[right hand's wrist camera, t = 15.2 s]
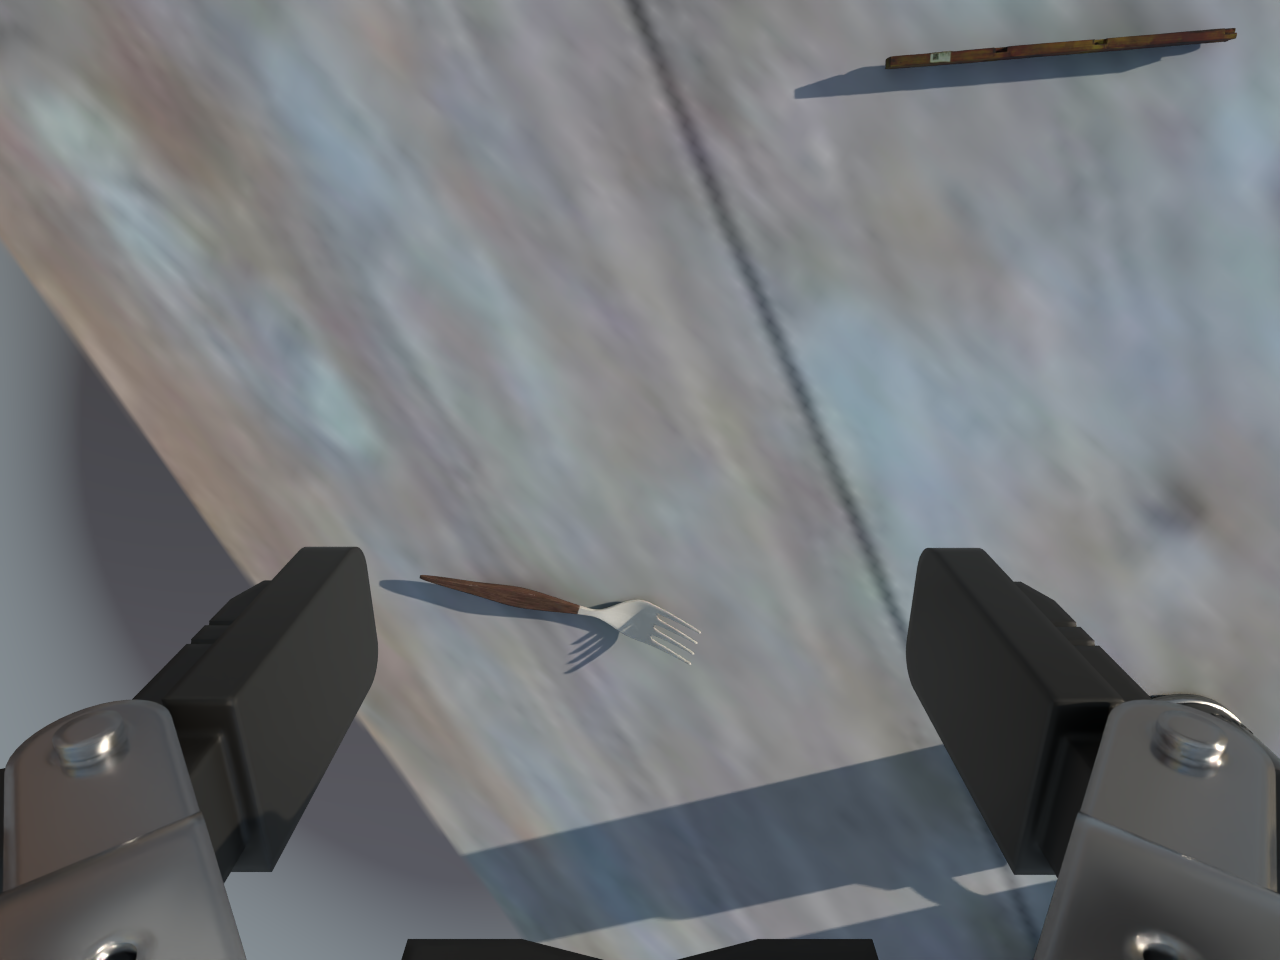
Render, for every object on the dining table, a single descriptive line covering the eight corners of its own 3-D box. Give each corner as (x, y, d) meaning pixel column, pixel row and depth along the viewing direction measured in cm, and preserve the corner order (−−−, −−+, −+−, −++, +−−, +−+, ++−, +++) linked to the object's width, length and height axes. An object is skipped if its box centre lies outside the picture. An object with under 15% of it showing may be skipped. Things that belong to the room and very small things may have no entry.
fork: (425, 551, 43) (416, 568, 41) (699, 611, 45) (702, 629, 43) (419, 591, 44) (409, 609, 42) (687, 648, 46) (689, 668, 44)
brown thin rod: (1226, 30, 34) (1243, 26, 33) (1224, 42, 34) (1240, 38, 33) (884, 59, 34) (890, 55, 34) (883, 70, 35) (890, 67, 34)
